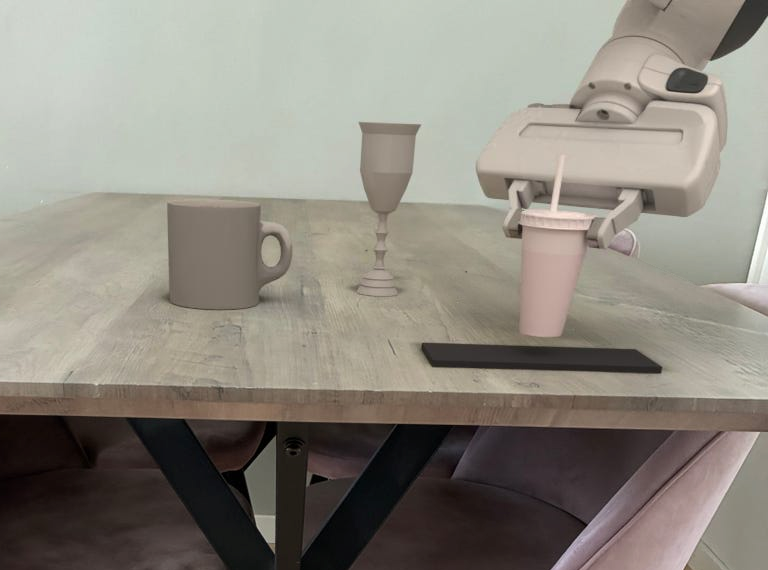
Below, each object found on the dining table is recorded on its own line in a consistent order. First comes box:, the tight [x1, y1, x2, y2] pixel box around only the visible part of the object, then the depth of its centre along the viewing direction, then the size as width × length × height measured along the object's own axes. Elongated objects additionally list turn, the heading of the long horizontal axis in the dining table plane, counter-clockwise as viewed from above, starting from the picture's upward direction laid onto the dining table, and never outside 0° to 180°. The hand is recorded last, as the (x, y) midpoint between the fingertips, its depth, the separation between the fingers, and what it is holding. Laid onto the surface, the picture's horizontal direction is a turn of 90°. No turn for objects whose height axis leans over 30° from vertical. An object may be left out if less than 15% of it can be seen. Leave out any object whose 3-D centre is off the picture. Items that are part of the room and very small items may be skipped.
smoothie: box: [518, 155, 599, 338], centre depth 81 cm, size 6×6×14 cm
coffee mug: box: [166, 198, 293, 311], centre depth 104 cm, size 13×10×10 cm
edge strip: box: [420, 342, 663, 375], centre depth 85 cm, size 20×7×1 cm, turn 91°
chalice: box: [355, 121, 422, 297], centre depth 111 cm, size 7×7×18 cm
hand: (552, 238), depth 80 cm, fingers closed on smoothie, 6 cm apart
